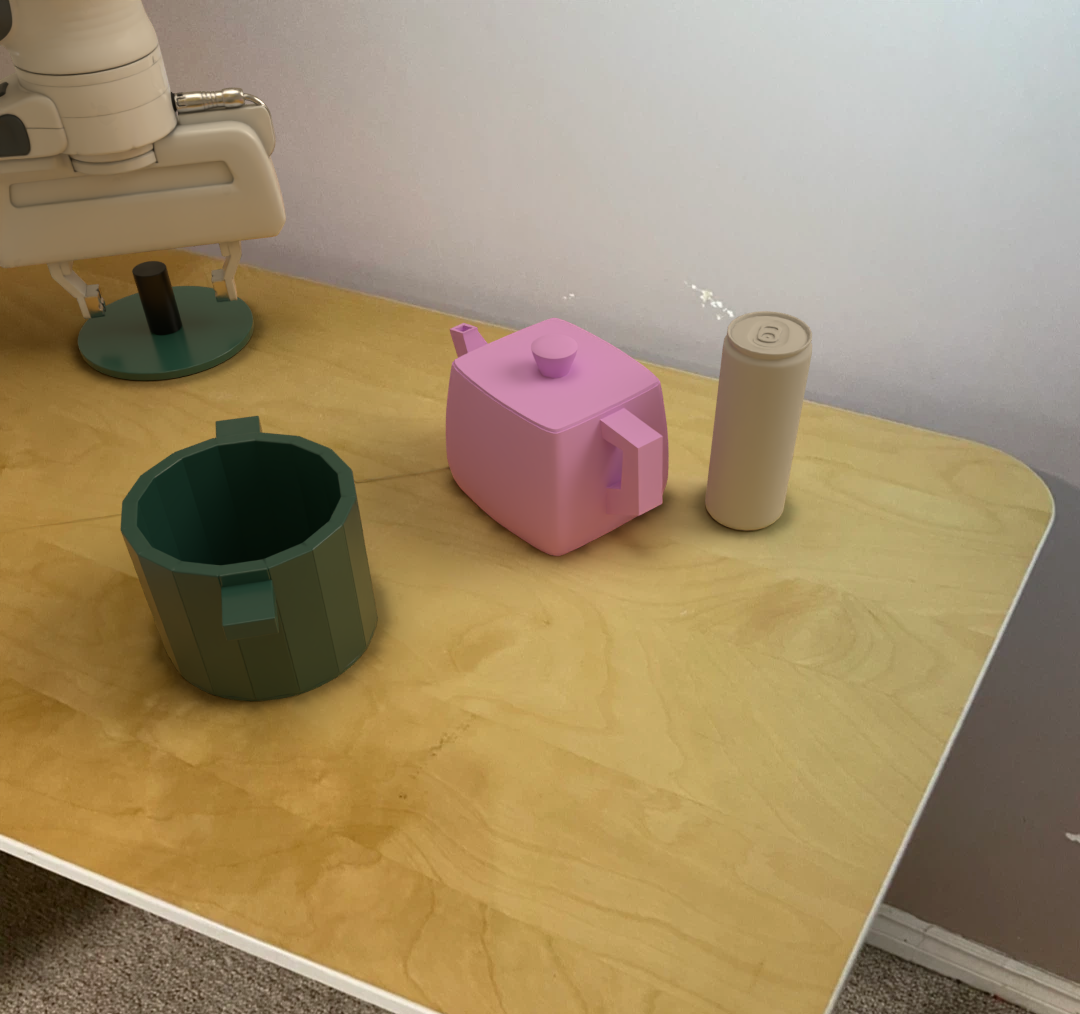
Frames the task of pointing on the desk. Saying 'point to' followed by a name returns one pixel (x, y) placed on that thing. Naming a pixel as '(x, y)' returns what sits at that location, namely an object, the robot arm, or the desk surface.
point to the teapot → (555, 433)
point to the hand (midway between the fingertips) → (162, 306)
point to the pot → (253, 562)
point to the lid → (164, 329)
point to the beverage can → (757, 418)
